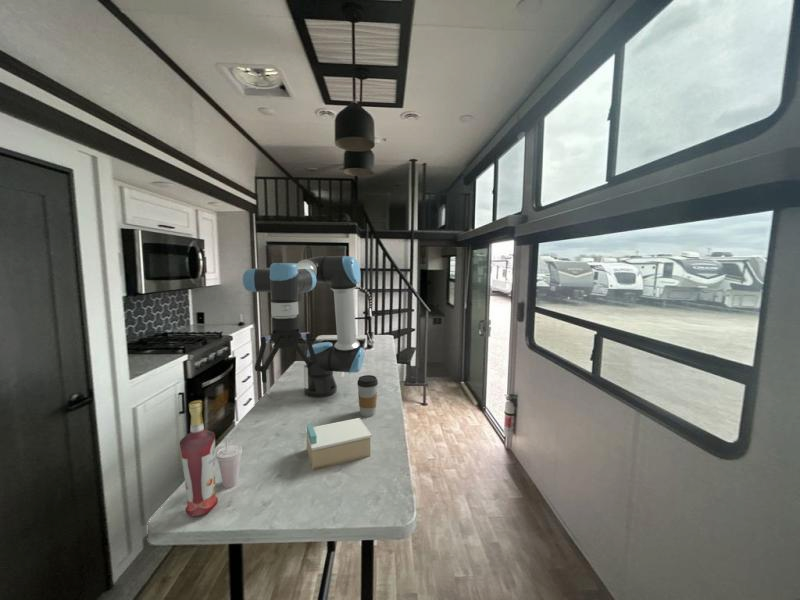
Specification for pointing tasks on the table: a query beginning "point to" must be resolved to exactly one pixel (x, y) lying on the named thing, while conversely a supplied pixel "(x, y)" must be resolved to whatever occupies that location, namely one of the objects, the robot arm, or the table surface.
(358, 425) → the lid
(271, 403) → the table surface
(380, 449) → the table surface
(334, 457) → the box
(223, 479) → the smoothie
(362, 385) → the coffee cup
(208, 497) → the liquor
